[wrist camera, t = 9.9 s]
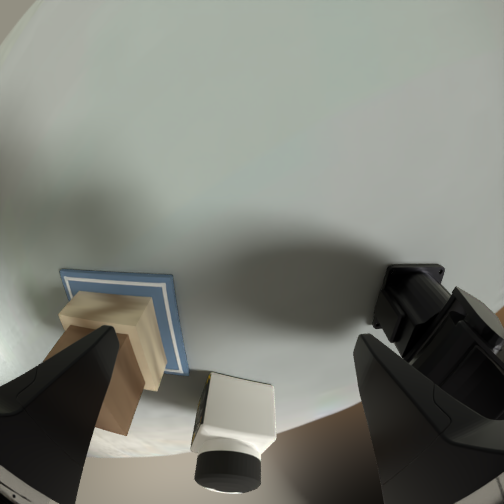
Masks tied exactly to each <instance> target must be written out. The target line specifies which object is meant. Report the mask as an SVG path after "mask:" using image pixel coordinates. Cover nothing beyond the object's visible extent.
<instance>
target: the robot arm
mask: <svg viewBox="0 0 504 504" xmlns="http://www.w3.org/2000/svg"><path fill="white" fill-rule="evenodd" d="M393 270H394V272H393V273H391V271H393ZM439 271H440V272H439ZM444 272H445V269H444V267H443V266H441V265H392V266H389V267H388V268H387V271H386V275H385V279H384V283H383V287H382V289H381V291H380V294H379V297H378V301H377V305H376V308H375V312H374V314H375V315H374V319H373V322H372V325H373V327H374V328H375V329H383V331H384V333H385V334H386V336H387V338H388V340H389V341H390V343H394V344H395V346H396V347H397V349H398V351H399V353H400V355H401V357H402V358H403V359H402V358H401V357H400V356H399V355H397V354H396V353H395V352H393V351H392V350H391V349H390V348H388V347H387V346H386V345H384V344H383V343H382V342H381V341H379V340H378V339H377V338H375V337H374V336H373V335H371V334H360V335H359V336H358V339H357V342H356V345H355V348H354V352H353V356H354V362H355V368H356V375H357V381H358V387H359V393H360V397H361V400H362V404H363V408H364V412H365V415H366V419H367V423H368V427H369V431H370V436H371V440H372V444H373V448H374V452H375V457H376V462H377V466H378V472H379V476H380V482H381V485H382V493H383V498H384V504H504V329H503V327H502V325H501V323H500V321H499V319H498V317H497V316H496V315H495V314H494V313H493V312H492V311H491V310H490V309H489V308H488V307H487V306H486V305H485V304H484V303H483V302H481V301H480V300H478V299H477V298H475V297H473V296H472V295H470V294H468V293H467V292H465V291H463V290H462V289H460V288H458V287H457V286H456V287H455V288H454V290H453V291H452V295H451V294H450V293H449V292H448V291H447V290H446V289H445V288H444V287H443V286H442V285H441V281H442V278H443V275H444ZM377 323H378V324H377ZM119 346H120V344H119V340H118V337H117V334H116V331H115V329H114V327H113V326H110V325H102V326H101V327H99V328H97V329H96V330H94V331H92V332H91V333H89V334H88V335H86V336H84V337H83V338H81V339H79V340H78V341H76V342H74V343H73V344H71V345H70V346H68V347H66V348H65V349H63V350H62V351H60V352H58V353H57V354H55V355H53V356H52V357H50V358H49V359H47V360H45V361H44V362H42V363H41V364H39V365H38V366H36V367H34V368H33V369H31V370H29V371H28V372H26V373H24V374H23V375H21V376H19V377H17V378H16V379H14V380H12V381H10V382H8V383H6V384H4V385H2V386H0V504H49V501H50V499H52V500H54V501H55V502H57V503H59V504H75V501H76V496H77V492H78V487H79V483H80V479H81V475H82V471H83V466H84V463H85V459H86V455H87V452H88V448H89V445H90V441H91V438H92V435H93V431H94V428H95V425H96V422H97V419H98V416H99V413H100V410H101V407H102V404H103V401H104V398H105V395H106V392H107V390H108V387H109V384H110V381H111V378H112V374H113V370H114V366H115V362H116V358H117V355H118V351H119Z"/></svg>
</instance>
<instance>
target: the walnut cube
mask: <svg viewBox="0 0 504 504" xmlns="http://www.w3.org/2000/svg"><path fill="white" fill-rule="evenodd" d="M94 330H96V329H90V328H85V327H79V326H74V325H70V326H69V327H68V328H67V330H66V331H65V332H64V333H63V335H62V336H61V337H60V339H59V340H58V341H57V343H56V344H55V345H54V347H53V348H52V350H51V351H50V352H49V354H48V355H47V357H46V358H45V359H44V361H45V360H47V359H49V358H50V357H52V356H53V355H55V354H57V353H58V352H60V351H62V350H63V349H65V348H66V347H68V346H70V345H71V344H73V343H74V342H76V341H78V340H79V339H81V338H83V337H84V336H86V335H88V334H89V333H91V332H92V331H94ZM116 334H117V337H118V340H119V344H120V346H119V351H118V355H117V358H116V362H115V366H114V370H113V374H112V378H111V381H110V384H109V387H108V390H107V392H106V395H105V398H104V401H103V404H102V407H101V410H100V413H99V416H98V419H97V422H96V425H95V427H97V428H100V429H103V430H107V431H110V432H113V433H117V434H121V435H124V436H127V434H128V431H129V428H130V425H131V422H132V419H133V416H134V414H135V411H136V408H137V405H138V402H139V400H140V397H141V394H142V391H143V389H144V386H145V380H144V378H143V375H142V373H141V370H140V367H139V365H138V362H137V359H136V356H135V353H134V351H133V348H132V345H131V342H130V339H129V335H128V334H121V333H116ZM44 361H43V362H44Z"/></svg>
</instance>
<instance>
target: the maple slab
mask: <svg viewBox="0 0 504 504" xmlns="http://www.w3.org/2000/svg"><path fill="white" fill-rule="evenodd" d="M58 316H59V318H60V320H61V323H62V325H63V328H64V330H65V331H66V330H67V328H68V327H69V326H70V325H74V326H79V327H85V328H90V329H97V328H99V327H101V326H102V325H110V326H113V327H114V329H115V331H116V333H121V334H128V335H129V339H130V342H131V345H132V348H133V351H134V353H135V356H136V359H137V362H138V365H139V367H140V370H141V373H142V375H143V378H144V380H145V386H144V389H146V390H152V391H158V388H159V385H160V382H161V379H162V376H163V373H164V370H165V367H166V364H167V359H166V355H165V352H164V348H163V344H162V340H161V336H160V332H159V327H158V323H157V319H156V314H155V310H154V305H153V300H152V297H142V296H129V295H117V294H106V293H96V292H86V291H79V292H78V293H77V294H76V295H75V296H74V297H73V298H72V299H71V300H70V301H69V303H68V304H67V305H66V306H65V307H64V308H63V309H62V310H61V312H60V313H59V314H58Z"/></svg>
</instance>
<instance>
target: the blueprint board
mask: <svg viewBox="0 0 504 504" xmlns="http://www.w3.org/2000/svg"><path fill="white" fill-rule="evenodd" d="M59 272H60V275H61V278H62V282H63V285H64V288H65V291H66V294H67V297H68V300H69V301H70V300H71V299H72V298H73V297H74V296H75V295H76V294H77V293H78V292H79V291H86V292H96V293H106V294H117V295H129V296H142V297H152V300H153V305H154V310H155V314H156V319H157V323H158V327H159V332H160V336H161V340H162V344H163V348H164V352H165V355H166V359H167V364H166V367H165V370H164V373H165V374H173V375H182V376H189V373H190V372H189V368H188V363H187V358H186V353H185V348H184V343H183V338H182V332H181V327H180V321H179V315H178V309H177V303H176V297H175V290H174V283H173V276H172V275H166V274H143V273H122V272H104V271H87V270H72V269H61V270H60V271H59Z"/></svg>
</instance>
